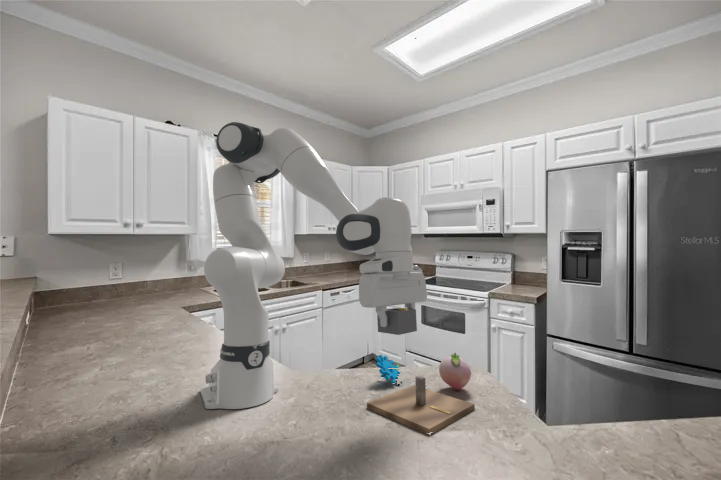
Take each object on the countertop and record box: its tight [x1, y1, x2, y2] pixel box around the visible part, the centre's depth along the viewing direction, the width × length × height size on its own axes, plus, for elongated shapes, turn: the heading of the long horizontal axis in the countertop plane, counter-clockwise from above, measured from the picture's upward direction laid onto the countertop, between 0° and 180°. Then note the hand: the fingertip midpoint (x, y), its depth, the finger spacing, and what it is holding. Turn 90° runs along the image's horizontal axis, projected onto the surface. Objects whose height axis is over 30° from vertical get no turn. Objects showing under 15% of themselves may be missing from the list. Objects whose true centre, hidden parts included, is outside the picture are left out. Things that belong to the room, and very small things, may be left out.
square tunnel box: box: [376, 307, 418, 336], centre depth 75 cm, size 6×6×5 cm
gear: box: [375, 354, 402, 384], centre depth 96 cm, size 11×6×10 cm
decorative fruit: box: [438, 352, 472, 391], centre depth 89 cm, size 9×8×10 cm
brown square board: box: [366, 375, 475, 434], centre depth 76 cm, size 18×18×7 cm
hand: (396, 324), depth 75 cm, fingers closed on square tunnel box, 6 cm apart
